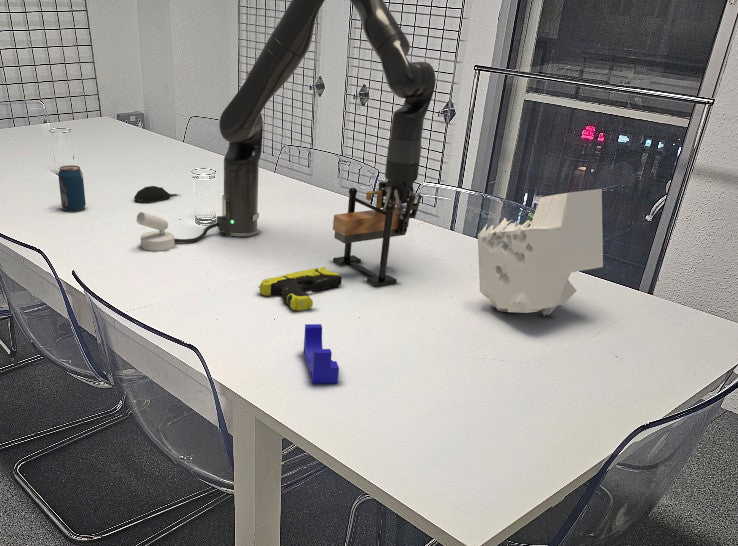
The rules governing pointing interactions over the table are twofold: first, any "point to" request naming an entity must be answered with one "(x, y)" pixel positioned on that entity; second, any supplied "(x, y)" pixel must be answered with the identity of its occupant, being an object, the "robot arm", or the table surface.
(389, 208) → the black hurdle stand
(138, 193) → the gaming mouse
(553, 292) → the jagged cream rock lump
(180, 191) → the table surface
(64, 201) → the soda can
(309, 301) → the stun gun
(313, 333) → the blue stepped block
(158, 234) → the white spotlight lamp
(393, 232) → the scrub brush
